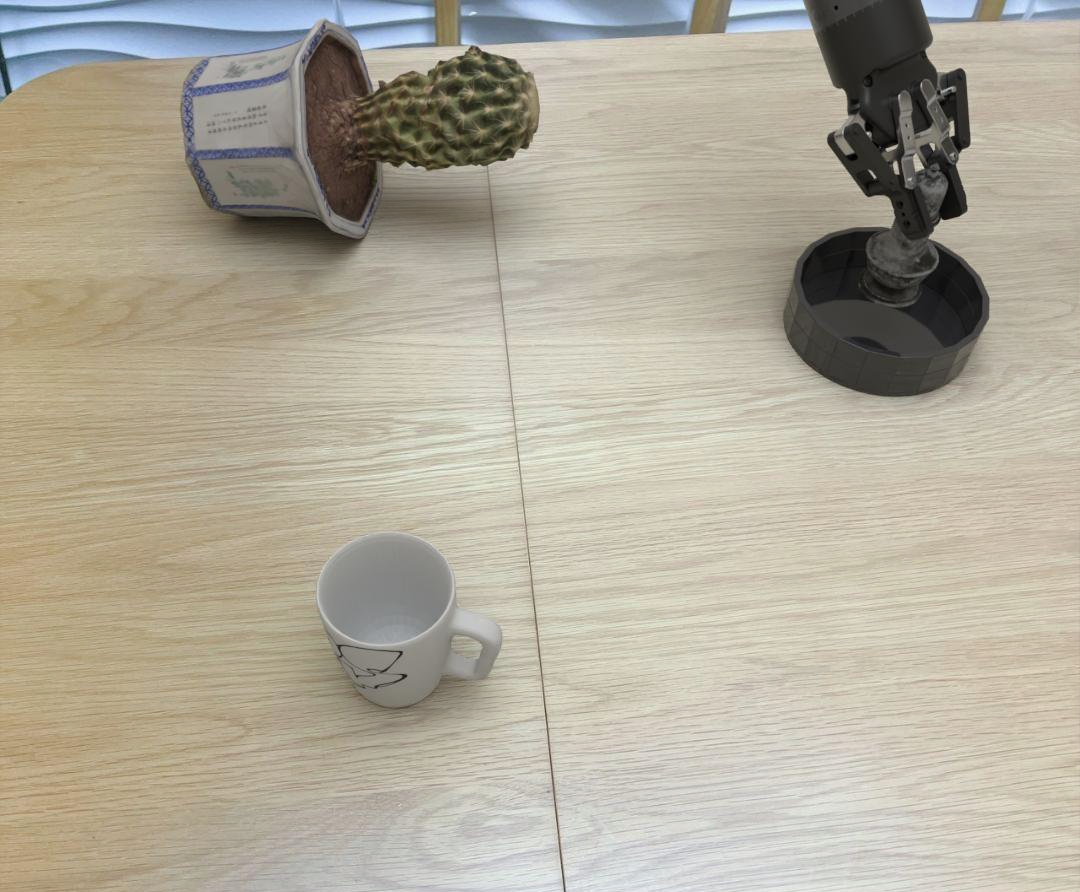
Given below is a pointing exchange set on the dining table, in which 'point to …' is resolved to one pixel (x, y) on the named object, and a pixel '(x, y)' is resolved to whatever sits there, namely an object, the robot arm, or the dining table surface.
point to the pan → (882, 319)
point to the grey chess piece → (903, 252)
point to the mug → (399, 618)
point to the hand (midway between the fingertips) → (938, 225)
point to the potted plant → (342, 125)
